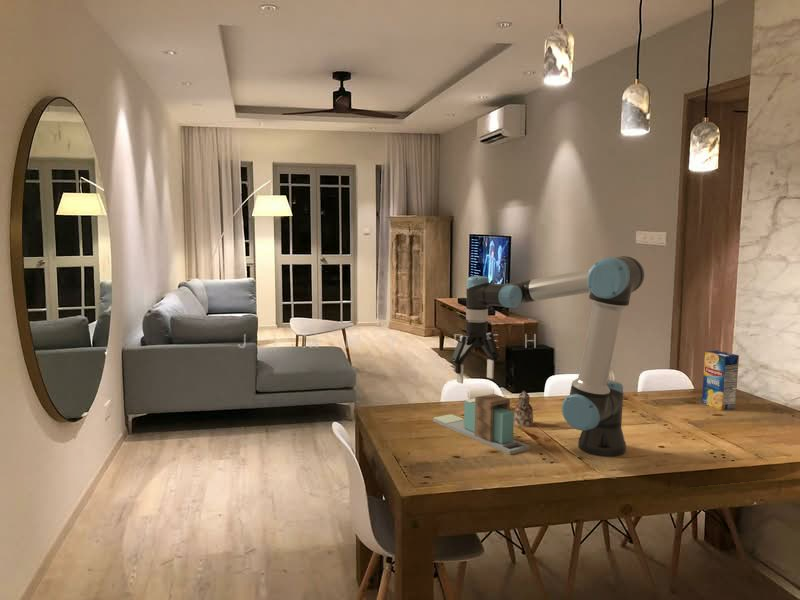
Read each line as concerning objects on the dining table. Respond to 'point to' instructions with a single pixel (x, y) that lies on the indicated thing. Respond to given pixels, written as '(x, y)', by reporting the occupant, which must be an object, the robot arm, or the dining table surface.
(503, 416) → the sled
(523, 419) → the figurine
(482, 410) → the tunnel
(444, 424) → the track board
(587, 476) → the dining table surface
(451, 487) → the dining table surface
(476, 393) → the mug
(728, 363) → the blue cardboard box
